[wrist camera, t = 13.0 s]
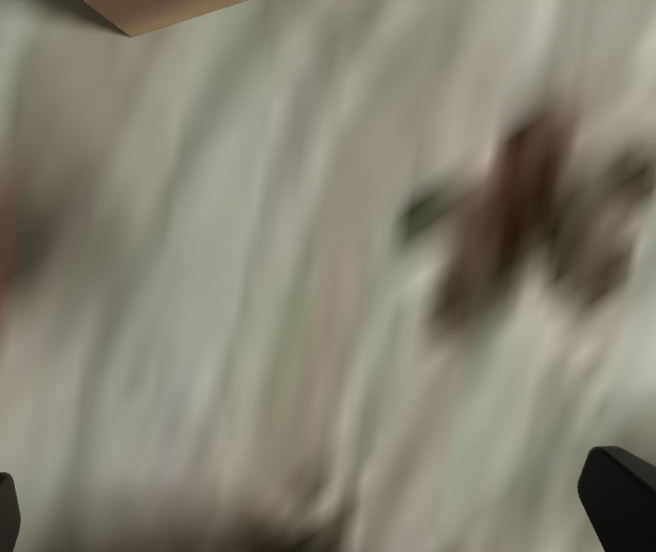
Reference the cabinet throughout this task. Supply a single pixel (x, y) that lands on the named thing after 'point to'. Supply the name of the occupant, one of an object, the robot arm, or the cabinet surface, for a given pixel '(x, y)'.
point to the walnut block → (153, 12)
